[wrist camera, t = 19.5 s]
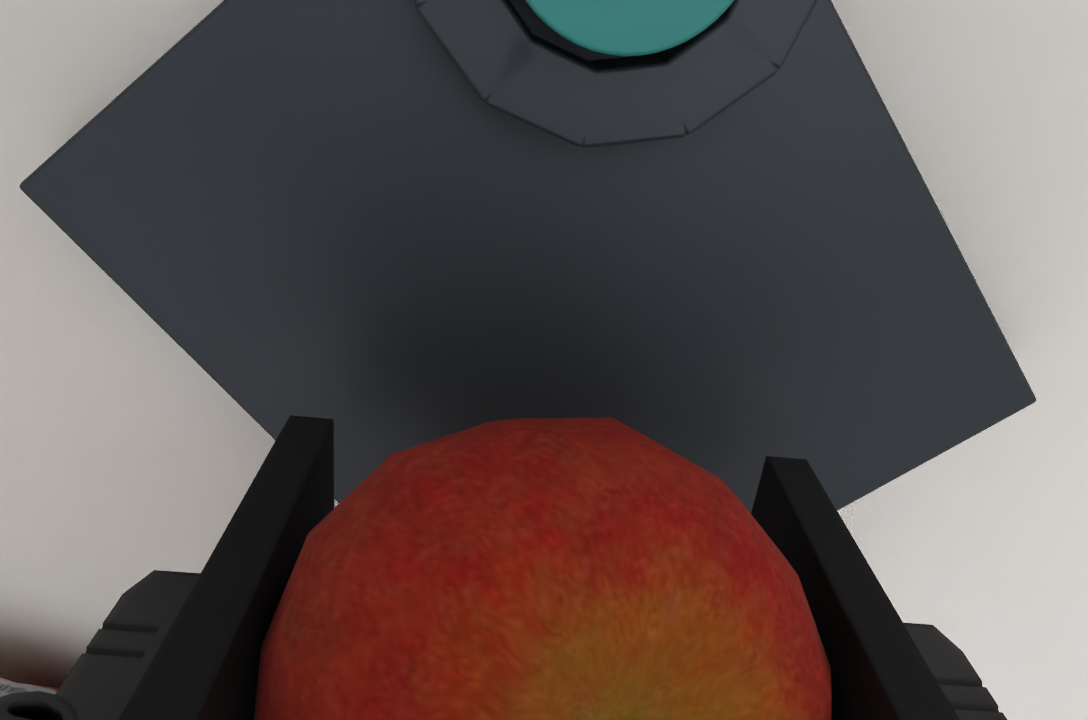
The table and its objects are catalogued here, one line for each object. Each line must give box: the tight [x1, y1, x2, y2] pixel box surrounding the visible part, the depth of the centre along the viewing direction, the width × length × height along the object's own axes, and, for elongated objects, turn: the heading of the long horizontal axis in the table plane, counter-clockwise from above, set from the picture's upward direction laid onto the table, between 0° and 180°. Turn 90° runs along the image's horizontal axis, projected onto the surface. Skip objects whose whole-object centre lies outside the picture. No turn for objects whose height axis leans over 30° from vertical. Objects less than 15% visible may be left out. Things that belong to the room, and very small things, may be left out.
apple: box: [254, 417, 832, 720], centre depth 11 cm, size 8×8×8 cm
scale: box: [19, 0, 1036, 513], centre depth 16 cm, size 16×15×4 cm
